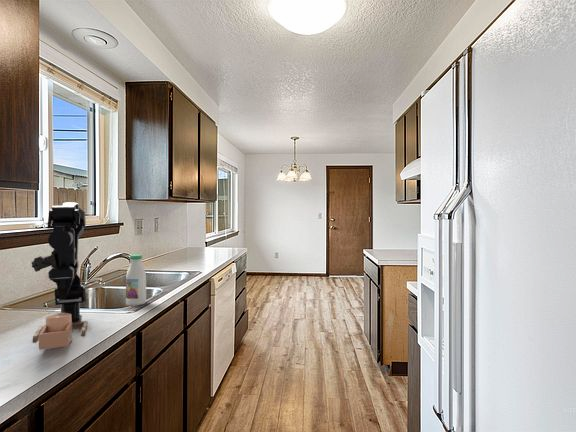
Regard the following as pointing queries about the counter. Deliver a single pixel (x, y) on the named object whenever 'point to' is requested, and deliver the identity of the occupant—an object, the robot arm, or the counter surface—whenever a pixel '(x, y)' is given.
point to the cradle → (74, 325)
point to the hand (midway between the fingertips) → (64, 295)
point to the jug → (56, 331)
